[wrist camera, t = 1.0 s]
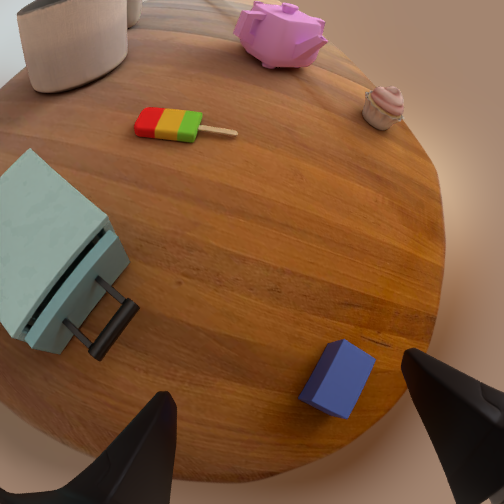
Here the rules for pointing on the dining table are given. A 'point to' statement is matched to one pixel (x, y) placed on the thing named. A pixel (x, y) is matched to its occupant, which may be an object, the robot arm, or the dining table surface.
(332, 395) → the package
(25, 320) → the cabinet
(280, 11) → the teapot
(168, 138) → the popsicle
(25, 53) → the planter
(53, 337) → the drawer
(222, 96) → the dining table surface
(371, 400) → the dining table surface
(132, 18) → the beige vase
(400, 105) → the cupcake
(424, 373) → the robot arm
